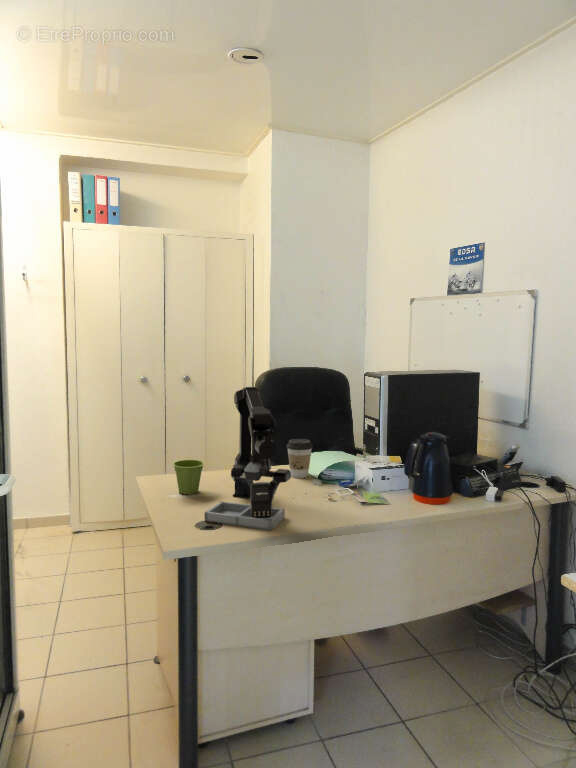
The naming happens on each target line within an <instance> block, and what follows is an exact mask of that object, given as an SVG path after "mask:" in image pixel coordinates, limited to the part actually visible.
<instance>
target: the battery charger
mask: <svg viewBox="0 0 576 768" xmlns="http://www.w3.org/2000/svg"><path fill="white" fill-rule="evenodd" d="M270 489H271V485H270V481H269V482H268V481H253V484H252V485H251V493H250V496H251V498H250V505H251V517H252V518H270V517H271V516H272V508H273V507H272V506H273V500H272V501H270Z"/></svg>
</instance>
